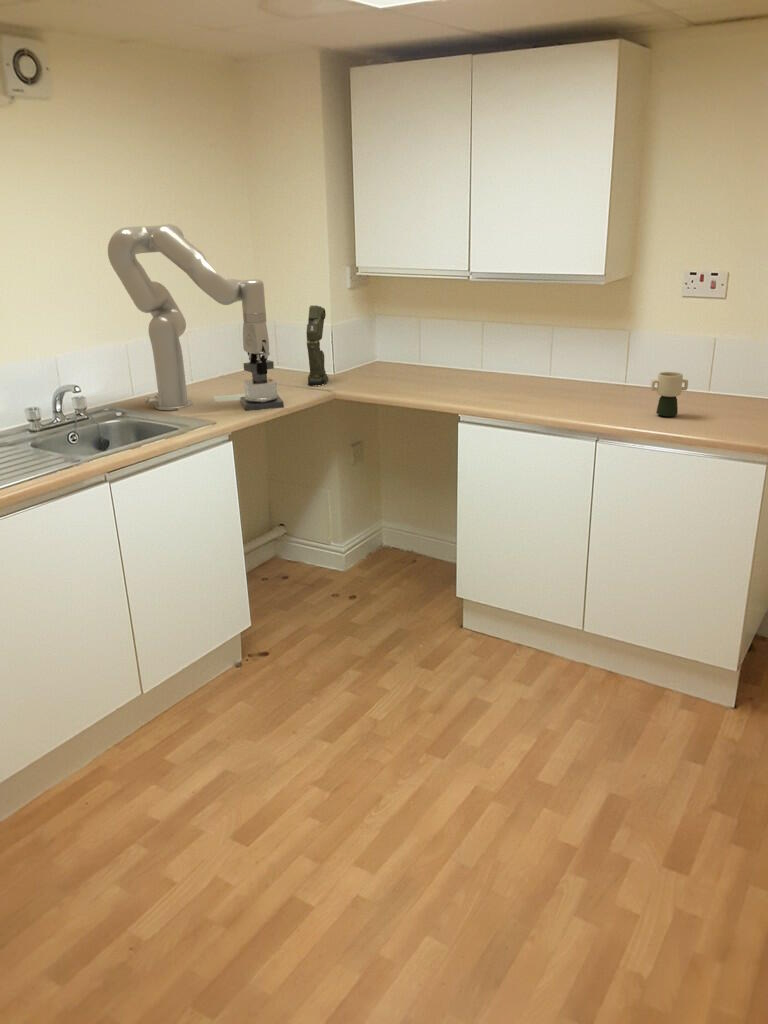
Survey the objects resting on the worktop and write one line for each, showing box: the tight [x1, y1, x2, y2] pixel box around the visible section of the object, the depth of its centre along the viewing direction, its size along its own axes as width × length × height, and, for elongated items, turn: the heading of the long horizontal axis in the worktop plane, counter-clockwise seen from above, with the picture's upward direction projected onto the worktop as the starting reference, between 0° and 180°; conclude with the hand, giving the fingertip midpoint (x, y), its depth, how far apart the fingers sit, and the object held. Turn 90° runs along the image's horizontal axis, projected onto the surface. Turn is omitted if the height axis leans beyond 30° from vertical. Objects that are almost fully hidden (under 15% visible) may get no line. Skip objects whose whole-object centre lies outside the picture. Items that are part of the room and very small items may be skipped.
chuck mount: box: [239, 393, 285, 412], centre depth 284 cm, size 13×13×2 cm
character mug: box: [650, 371, 689, 417], centre depth 253 cm, size 11×7×13 cm, turn 87°
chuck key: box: [243, 359, 275, 383], centre depth 281 cm, size 9×4×9 cm, turn 127°
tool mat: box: [212, 393, 246, 403], centre depth 295 cm, size 12×10×1 cm
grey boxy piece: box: [243, 377, 278, 402], centre depth 283 cm, size 11×11×6 cm
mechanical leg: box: [305, 305, 329, 386], centre depth 314 cm, size 14×7×30 cm, turn 168°
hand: (259, 372), depth 281 cm, fingers closed on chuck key, 4 cm apart
